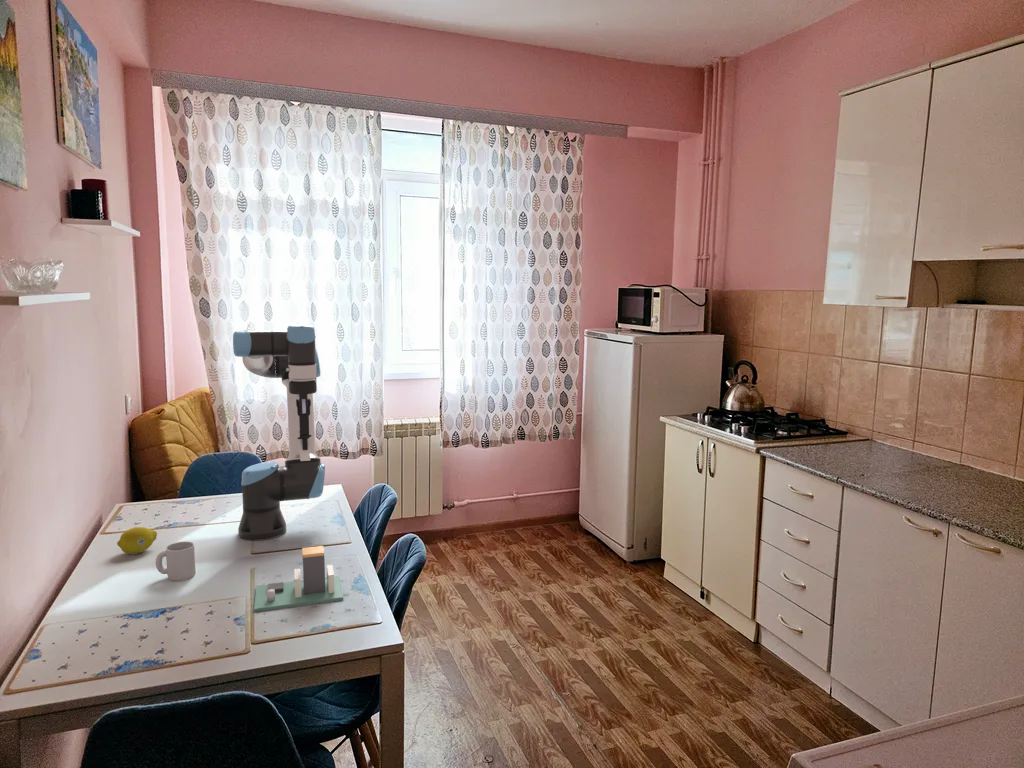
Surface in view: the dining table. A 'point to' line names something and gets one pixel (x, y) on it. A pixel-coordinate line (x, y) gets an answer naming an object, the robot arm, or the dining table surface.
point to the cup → (178, 561)
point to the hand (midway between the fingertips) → (305, 460)
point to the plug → (313, 569)
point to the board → (296, 593)
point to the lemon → (136, 540)
